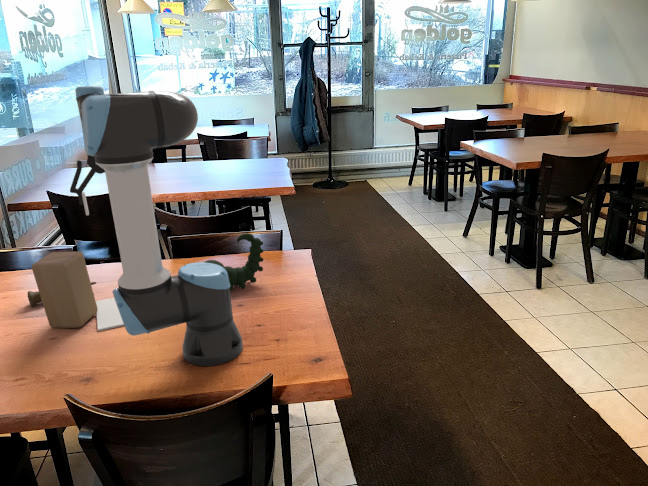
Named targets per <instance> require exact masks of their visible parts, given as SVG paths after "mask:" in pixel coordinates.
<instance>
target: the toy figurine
mask: <svg viewBox="0 0 648 486" xmlns="http://www.w3.org/2000/svg"><path fill="white" fill-rule="evenodd" d="M243 240H245V241H246V242H247V241H248V242H250V247H249V254H248V256H247V261H246V263H245V265H243V266H241V267H232V266H228V265H227V266H226V265H224V264H223V263H222V262H220V261H219V260H215V259H208V260H206V261H204V262H205V263H213V264H217V265H220V266H222V267H223V268H224V269H225V270H226V271H227V273H228V278H229V283H230V292H232V291H233V290H234V288H235V287H239V288H240V289H241V290H244V289H245V288H246V283H247V282H249V281H250V283H253V284H255V283H256V282H257V277H255V273H257V272H263V271H264V267H263V266H262V265H261V264H260V263H262V262H264V257H262V256H261V254H263V253H264V249H263V248H262V247H261V246H263V245H264V242H263V241H262V240H261V239H260V238H258V237H254V235H253V234H252V233H247V232H246V233H245V232H244V233H242V234H240V235H239V236H238V237H237V239H236V242H237V243H239V242H240V241H243ZM234 286H235V287H234Z"/></svg>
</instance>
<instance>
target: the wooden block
mask: <svg viewBox="0 0 648 486" xmlns="http://www.w3.org/2000/svg"><path fill="white" fill-rule="evenodd" d="M31 270H32V273H33V277H34V280H35V283H36V285H37V289H38V290H37V291H39V293H40V296H41V299H42V302H41V303H42V306H43V308H44V312H45V315H46V318H47V322H48V324H49V327H51V328H70V329H71V328H72V329H73V328H77V329H78V328H80V327H83V326H84V325H85V324H86V323H87V322H88V321H89V320H90V319H91V318H92V317H94V316H95V315H97V311H98V308H97V304H96V301H97V300H96V297H95V293H94V291H93V285H91V283H92V282H91V280H90V279H91V278H90V275H89V271H88V267H87V263H86V260H85V257H84V253H83V252H82V251H52V252H50V253H48V254H47V255H45V256H44V257H42V258H41V259H38V261H35V262H34V263H32V265H31Z"/></svg>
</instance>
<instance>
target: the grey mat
mask: <svg viewBox="0 0 648 486" xmlns="http://www.w3.org/2000/svg"><path fill="white" fill-rule="evenodd" d="M95 301H96V304H97V308H98V311H97V313H96V324H97V331H98V332H102V331H107V330H111V329H115V328H119V327H121V328H122V327H125V326H124V323H123V321H122V318H121V315H120V313H119V310H118V307H117V304H116V301H115V299H114V297H111V298H105V299H101V300H95Z"/></svg>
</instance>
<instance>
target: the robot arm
mask: <svg viewBox="0 0 648 486" xmlns="http://www.w3.org/2000/svg"><path fill="white" fill-rule="evenodd" d="M75 101H76V102H77V108H78V113H79V117H80V118H79V119H80V122H81V130H82V131H81V132H82V138H83V144H84V151H85V154H86V155H87V159H80V158H79V159H77V160H76V171H75V174H74V177H73V179H72V183H71V186H70V190H69V192H70V194H73V193H74V194H77V197H78V203H79V205H83V206H84V211H85V215H86V216H90V211H89V206H88V201H87V196H86V192H85V191H84V190H85V188H86V187H87V186H88V184H89V183H90V181H91V180H92V178H93V177H94V175H95V174H98V175H100V174H103V173H105V179H106V184H107V191H108V195H109V196H108V197H109V201H110V206H111V213H112V217H113V223H114V229H115V234H116V240H117V244H118V250H119V255H120V261H121V262H120V263H121V268H122V274H121V275H120V277H119V278H118V279H117V284H118V287H116V288H115V289H112V291H111V292H112V294H113V298H114V299H115V301H116V304H117V307H118V310H119V313H120V315H121V318H122V321H123V323H124V326H123V327H124V328H125V330H126V332H127V333H128V334H129V335H130V336H139V335H144V334H150V333H152V332H153V333H154V332H156V331H160V330H162V329H167V328H171V327H175V326H178V325H181V324H185V325H186V327H185V328H186V329H185V333H184V338H183V342H182V349H181V350H182V355H183V359H185V361H186V362H187V363H189V364H192V365H194V366H198V367H213V366H214V367H215V366H218V365H222V364H225V363H228V362H230V361H232V360H234V359H235V358H237V357H238V356H239V355H240V354H241V353H242V351H243V348H244V345H243V338H242V335H241V332H240V331H239V329H238V327H237V325H236V323H235V321H234V315H233V306H232V305H233V304H232V296H231V291H230V283H229V278H228V273H227V271H226V270H225V269H224V268H223V267H222V266H220V265H217V264H213V263H205V261H203V262H199V261H198V262H190V263H187V264H184V265H182V266H180V267H179V269H178V273H177V275H174V276H173V275H172V274H171V272H170V270H168V269H167V268H166V267H164V266H163V261H162V255H161V249H160V243H159V242H160V241H159V234H158V229H157V228H158V227H157V222H156V217H155V216H156V215H155V209H154V208H155V207H154V202H153V195H152V194H153V193H152V188H151V182H150V176H149V169H148V165H149V164H150V163H151V162H152V160H153V159H154V152H153V149H159V148H164V147H165V148H167V147H170V146H174V145H176V144H177V145H178V144H180V143H181V142H183V141H185V140H186V139H188V138H189V137H191V135H192V134H193V133H194V131H195V129H196V127H197V125H198V121H199V120H198V119H199V115H198V110H197V108H196V106H195V104H194V103H193V101H192V100H191V99H190V98H189V97H187V96H186V95H183V94H182V93H181V94H180V93H177V92H172V91H165V90H149V91H139V92H138V91H137V92H126V93H125V92H124V93H123V92H121V93H105V90H104V88H103V87H102V86H101V85H85V86H76V88H75ZM86 165H88V167H90V170H89V171H88V174H87V175H86V177H85V178H84V179H83V181H82V182H81V184H80V185H79V187H78V188H77V185H78V182H79V179H80V176H81V173H82V168H85V166H86Z"/></svg>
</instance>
